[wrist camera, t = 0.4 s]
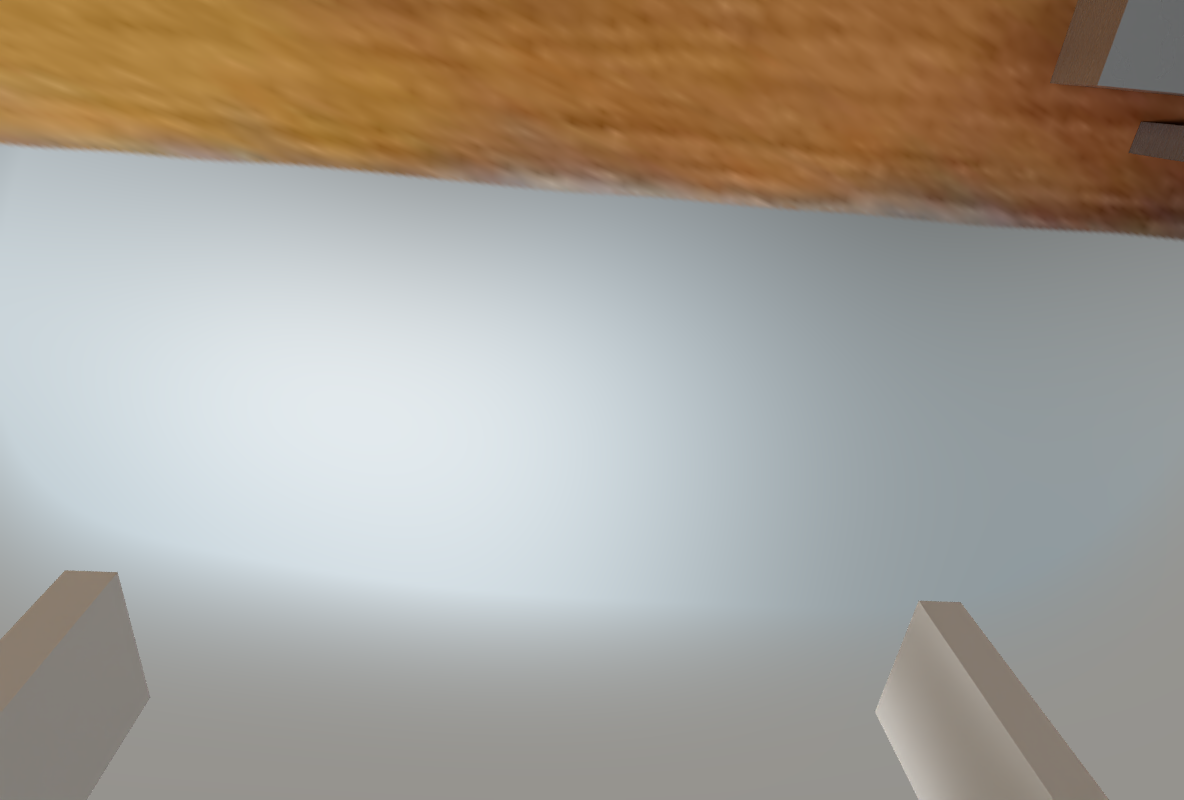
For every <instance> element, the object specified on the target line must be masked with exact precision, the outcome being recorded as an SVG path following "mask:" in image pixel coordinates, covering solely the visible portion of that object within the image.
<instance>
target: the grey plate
mask: <svg viewBox="0 0 1184 800" xmlns="http://www.w3.org/2000/svg"><path fill="white" fill-rule="evenodd" d="M1050 83H1055V84H1065V85H1075V86H1085V87H1096V88H1106V89H1116V90H1127V91H1137V92H1147V93H1157V94H1168V95H1178V96H1184V0H1078V2H1077V5H1076V8H1075V11H1074V14H1073V17H1072V20H1071V23H1070V26H1069V29H1068V32H1067V35H1066V38H1065V40H1064V43H1063V46H1062V49H1061V52H1060V55H1059V58H1058V61H1057V64H1056V67H1055V70H1054V73H1053V76H1052V79H1051V82H1050ZM1129 153H1133V154H1139V155H1145V156H1151V157H1158V158H1164V159H1170V160H1176V161H1182V162H1184V126H1182V125H1172V124H1161V123H1150V122H1141V123H1140V126H1139V128H1138V131H1137V133H1136V136H1135V138H1134V141H1133V143H1132V146H1131V148H1130V151H1129Z"/></svg>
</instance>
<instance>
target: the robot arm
mask: <svg viewBox="0 0 1184 800" xmlns="http://www.w3.org/2000/svg"><path fill="white" fill-rule="evenodd" d="M149 698H150V695H149V691H148V687H147V684H146V680H145V676H144V672H143V668H142V664H141V660H140V657H139V653H138V649H137V645H136V642H135V637H134V634H133V630H132V626H131V622H130V618H129V614H128V611H127V607H126V603H125V599H124V595H123V592H122V588H121V584H120V580H119V576H118V573H117V572H91V571H64V572H63V573H62V574H61V576H60V577H59V578H58V579H57V580H56V581H55V582H54V583H53V584H52V585H51V586H50V587H49V588H48V589H47V590H46V592H45V593H44V594H43V595H42V596H41V597H40V598H39V599H38V600H37V601H36V602H35V603H34V604H33V606H31V608H30V609H29V610H28V611H27V612H26V613H25V614H24V615H23V616H22V617H21V618H20V619H19V620H18V621H17V622H16V624H15V625H14V626H13V627H12V628H11V629H10V630H9V631H8V632H7V633H6V635H4V636H3V638H2V639H1V640H0V800H87V798H88V797H89V795H90V794H91V792H92V790H93V789H94V787H95V785H96V784H97V782H98V781H99V779H100V777H101V776H102V774H103V773H104V771H105V769H106V768H107V766H108V764H109V762H110V761H111V760H112V758H113V756H114V755H115V753H116V752H117V750H118V748H119V747H120V745H121V743H122V742H123V740H124V739H125V737H126V735H127V734H128V732H129V731H130V729H131V727H132V726H133V724H134V723H135V721H136V719H137V718H138V716H139V714H140V713H141V711H142V710H143V708H144V706H145V705H146V703H147V701H148V700H149ZM875 713H876V715H877V717H878V718H879V720H880V723H881V724H882V727H883V728H884V731H885V733H886V735H887V737H888V739H889V741H890V743H891V745H892V747H893V749H894V751H895V753H896V755H897V757H898V759H899V761H900V763H901V765H902V767H903V769H904V771H905V773H906V775H907V777H908V779H909V781H910V783H911V785H912V787H913V789H914V791H915V793H916V795H917V797H918V799H919V800H1109V799H1108V798H1107V796H1106V795H1105V794H1104V792H1103V791H1102V790H1101V788H1100V787H1099V786H1098V784H1097V783H1096V782H1095V780H1094V779H1093V778H1092V777H1091V775H1090V774H1089V772H1088V771H1087V770H1086V768H1085V767H1084V766H1083V765H1082V764H1081V762H1080V761H1079V759H1078V758H1077V757H1076V755H1075V754H1074V753H1073V751H1072V750H1071V749H1070V747H1069V746H1068V745H1067V743H1066V742H1065V741H1064V739H1063V738H1062V737H1061V735H1060V734H1059V733H1058V731H1057V730H1056V729H1055V727H1054V726H1053V725H1052V723H1051V722H1050V721H1049V720H1048V718H1047V717H1046V715H1045V714H1044V713H1043V712H1042V710H1041V709H1040V707H1039V706H1038V705H1037V703H1036V702H1035V701H1034V700H1033V698H1032V697H1031V695H1030V694H1029V693H1028V692H1027V690H1026V689H1025V687H1024V686H1023V685H1022V683H1021V682H1020V681H1019V680H1018V678H1017V677H1016V675H1015V674H1014V673H1013V671H1012V670H1011V669H1010V668H1009V666H1008V665H1007V664H1006V662H1005V661H1004V660H1003V658H1002V657H1001V656H1000V654H999V653H998V652H997V650H996V649H995V648H994V646H993V645H992V644H991V642H990V641H989V640H988V638H987V637H986V636H985V634H984V633H983V632H982V630H981V629H980V628H979V626H978V625H977V624H976V622H975V621H974V620H973V618H972V617H971V616H970V614H969V613H968V612H967V610H966V609H965V608H964V607H963V605H962V604H961V603H960V602H936V601H918V604H917V607H916V609H915V612H914V614H913V617H912V619H911V622H910V624H909V627H908V629H907V632H906V634H905V638H904V640H903V642H902V645H901V647H900V650H899V652H898V655H897V657H896V660H895V663H894V665H893V667H892V670H891V673H890V675H889V678H888V680H887V683H886V686H885V688H884V691H883V693H882V695H881V698H880V700H879V703H878V706H877V708H876V711H875Z"/></svg>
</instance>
